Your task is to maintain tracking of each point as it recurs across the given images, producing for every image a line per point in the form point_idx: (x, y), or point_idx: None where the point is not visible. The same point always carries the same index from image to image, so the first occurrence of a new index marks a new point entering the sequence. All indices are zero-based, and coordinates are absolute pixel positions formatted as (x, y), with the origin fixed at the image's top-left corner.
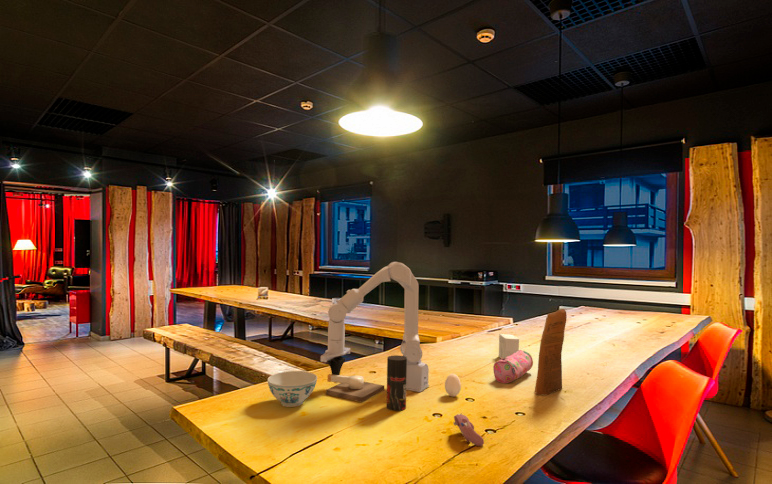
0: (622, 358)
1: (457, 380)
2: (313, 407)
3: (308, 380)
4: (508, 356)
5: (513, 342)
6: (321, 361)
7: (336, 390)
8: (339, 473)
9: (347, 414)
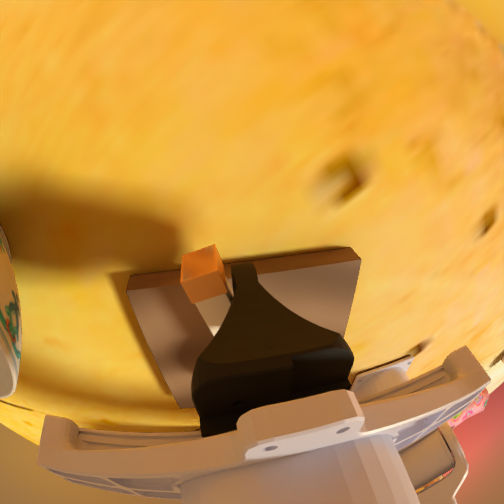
0: (494, 387)
1: None
2: (27, 326)
3: (3, 293)
4: (467, 415)
5: None
6: (51, 422)
7: (157, 329)
8: (19, 433)
9: (92, 402)
